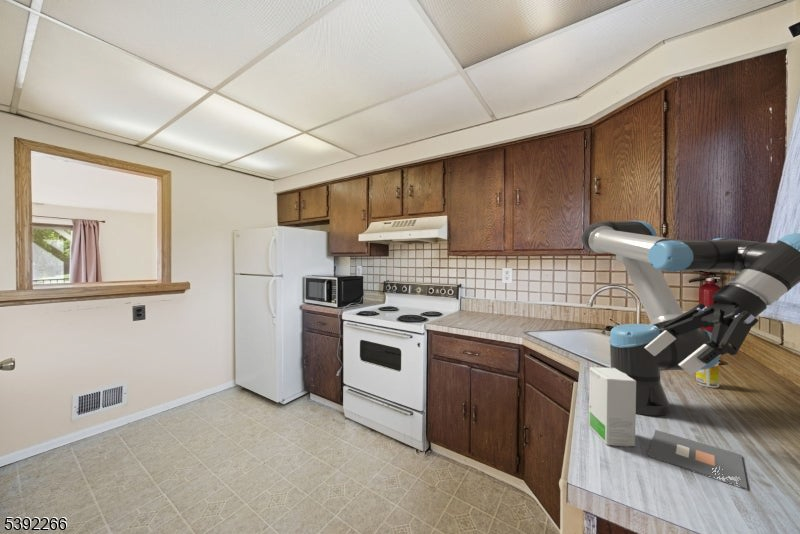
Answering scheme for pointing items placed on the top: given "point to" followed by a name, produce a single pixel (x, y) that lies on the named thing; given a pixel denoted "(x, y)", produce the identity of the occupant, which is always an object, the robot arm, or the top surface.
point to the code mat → (697, 457)
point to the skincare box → (612, 406)
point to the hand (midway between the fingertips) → (665, 360)
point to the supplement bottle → (708, 377)
